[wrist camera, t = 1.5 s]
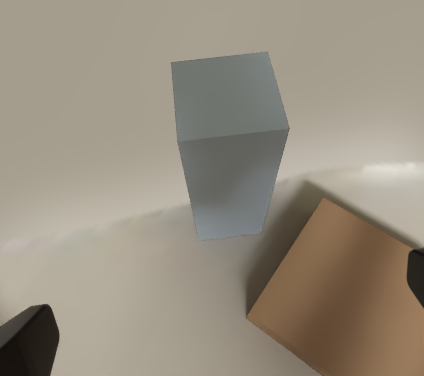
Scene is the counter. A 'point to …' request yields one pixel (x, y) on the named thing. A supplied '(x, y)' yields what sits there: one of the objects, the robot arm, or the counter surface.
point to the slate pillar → (229, 140)
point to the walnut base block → (344, 300)
